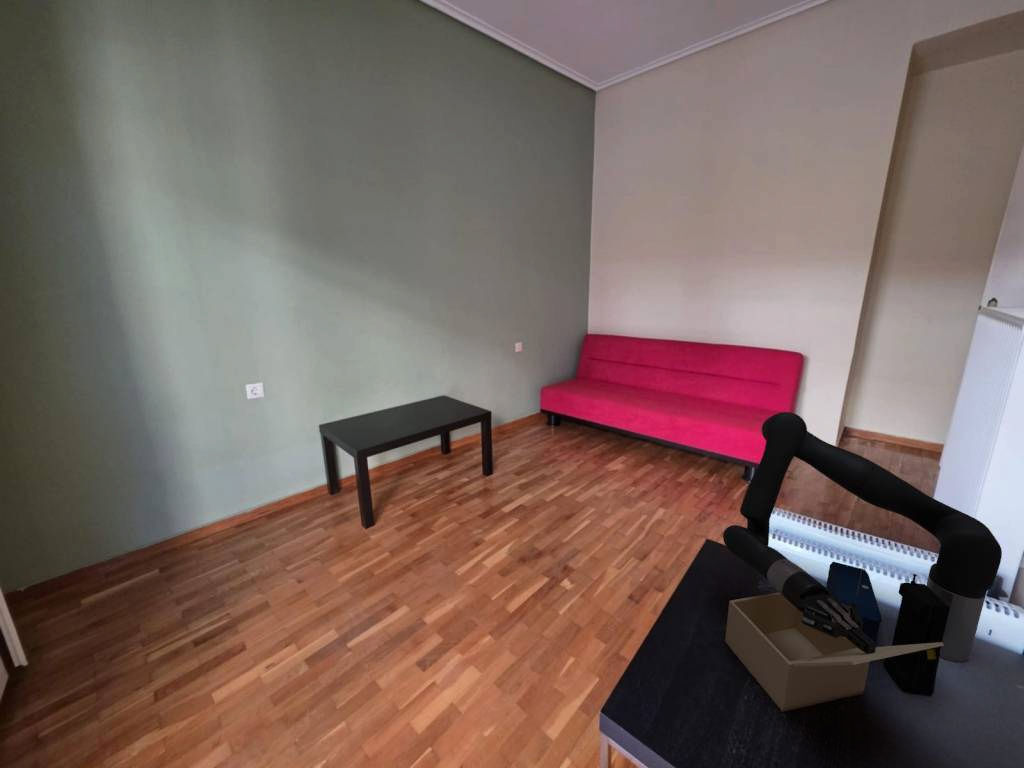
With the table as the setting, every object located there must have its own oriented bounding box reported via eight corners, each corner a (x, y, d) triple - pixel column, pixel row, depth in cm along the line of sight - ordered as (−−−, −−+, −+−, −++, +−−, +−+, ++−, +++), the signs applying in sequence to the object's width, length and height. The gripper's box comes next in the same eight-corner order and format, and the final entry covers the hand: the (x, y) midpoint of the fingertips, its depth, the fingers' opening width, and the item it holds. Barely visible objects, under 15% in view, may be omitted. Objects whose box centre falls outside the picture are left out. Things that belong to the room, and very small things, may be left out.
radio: (878, 663, 97) (893, 589, 92) (831, 647, 102) (843, 576, 97) (862, 604, 114) (875, 540, 110) (823, 593, 119) (833, 531, 114)
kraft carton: (725, 641, 104) (729, 600, 101) (794, 628, 107) (800, 588, 105) (782, 711, 87) (789, 664, 84) (863, 693, 90) (872, 647, 87)
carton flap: (851, 661, 71) (853, 665, 71) (942, 642, 74) (944, 646, 74) (791, 663, 84) (793, 667, 84) (870, 647, 87) (872, 650, 87)
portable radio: (939, 702, 88) (964, 601, 82) (905, 697, 89) (928, 597, 83) (912, 669, 95) (934, 574, 89) (881, 665, 96) (901, 571, 91)
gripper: (771, 574, 92) (844, 639, 75) (823, 566, 94) (906, 627, 77) (767, 603, 93) (838, 672, 77) (818, 595, 95) (898, 660, 79)
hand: (872, 649), depth 77 cm, fingers closed
